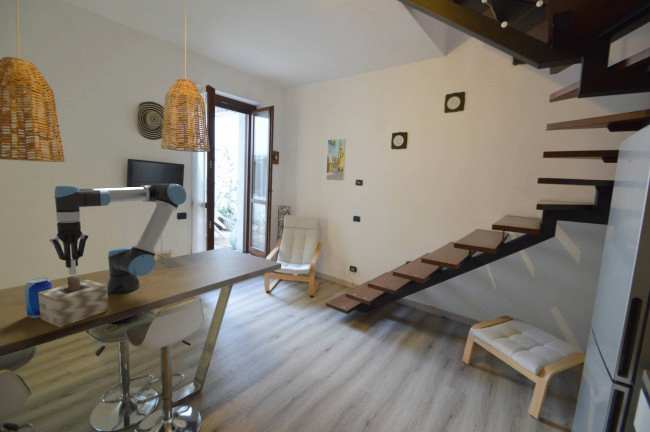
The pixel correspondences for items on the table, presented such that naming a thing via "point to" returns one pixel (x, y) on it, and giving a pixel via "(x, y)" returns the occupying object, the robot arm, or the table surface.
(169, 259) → the table surface
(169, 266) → the table surface
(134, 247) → the robot arm
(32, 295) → the beer can
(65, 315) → the tissue box
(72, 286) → the peg
